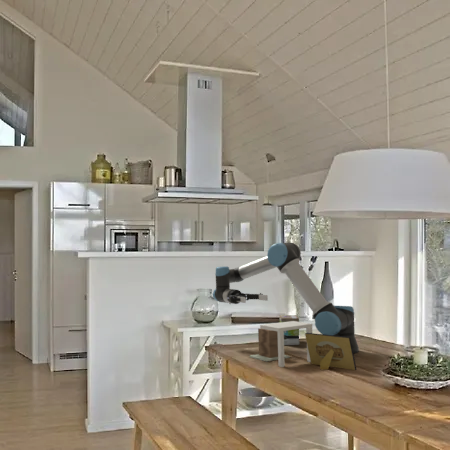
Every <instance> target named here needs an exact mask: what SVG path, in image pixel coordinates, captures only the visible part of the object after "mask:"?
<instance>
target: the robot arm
mask: <svg viewBox="0 0 450 450" xmlns="http://www.w3.org/2000/svg"><path fill="white" fill-rule="evenodd" d="M301 255H302V253H301V249H300V247H299V245H297V244H296V243H293V242H277V243H274V244H272V245H270V247H269V248H268V250H267V255H266V256H263V257H262V258H258V259H255V260H254V261H250V262H247V263H245V264H243V265H240V266H238V267H235V268H232V269H230V267H229V266H217V267H216V268H215V273H214V274H215V289H213V292H212V298H213V299H214V300H215V301H216V302H219V303H227V304H229V305H231V304H232V305H233V304H234V305H237V304H240V303H245V304H246V301H249V300H258V301H259V300H260V301H269V300H268V295H267V294H263V293H262V292H259V293H243V292H242V291H241V290H239V289H236V288H235V289H234V288H231V287H230V285H231V284H232V283H240V282H243V281H244V280H245V279H249V278H251V277H254V276H257V275H259V274H262V273H264V272H265V273H266V272H267V271H269V270H273V269H275V268H277V269H278V270H279V272H280V274H285V275H286V277H287V278H288V279H289V281H290V282H291V283H292V285H293V286H294V288H295V289H296V290H297V292H298V293H299V294H300V296H301V297H302V299H303V300H304V302H305V303H306V304H307V306H308V307H309V309H310V310H311V311H312V318H313V320H314V325H315V328H316V331H318V332H319V334H324V335H334V336H344V337H350V339H351V344H352V349H353V354H357V353H359V350H360V349H359V343H358V342H357V341H358V340H357V338H356V334H355V309H354V307H353V306H351V305H350V306H349V305H334V304H333V303H332V302H330V301H327V300H326V298H325V297H324V296H323V293H321V292H320V290H319V288H318V287H317V286H316V285H315V283H314V282H313V281H312V279H311V278H310V276H309V275H308V274H307V272H306V271H305V270H304V269H303V267H302V266H301V264H300V260H301V259H300V258H301Z"/></svg>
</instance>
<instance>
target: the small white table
mask: <svg viewBox="0 0 450 450" xmlns="http://www.w3.org/2000/svg"><path fill="white" fill-rule="evenodd" d="M259 327H260V328H262V329H267V330H273V331H277V334H278V365H277V366H278V367H279V368H284V367H285V359H286V358H285V359H284V355H285V345H284V331H287V330H294V329H299V330H302V329H306V330H305V331H306V332H305V333H313V323H309V322H302V321H299V322H297V321H289V322H281V323H280V322H274V323H267V324H260V325H259ZM260 328H259V329H260ZM306 359H307V360H306V361H307V362H308V363H311V360H310V355H309V350H308V346H307V345H306Z"/></svg>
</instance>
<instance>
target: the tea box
mask: <svg viewBox="0 0 450 450" xmlns="http://www.w3.org/2000/svg"><path fill="white" fill-rule="evenodd" d="M289 321H297V322H300V318H299V317H298V316H297V315H296V314H292V315H291V314H283V315H282V314H281V315H279V321H278V323H281V322H289ZM299 345H300V329H294V330H287V331H284V346H299Z"/></svg>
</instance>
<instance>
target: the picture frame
mask: <svg viewBox="0 0 450 450" xmlns="http://www.w3.org/2000/svg"><path fill="white" fill-rule="evenodd" d="M304 335H305V341H306V347H307V346H308V350H309V355H310V360H311V362H310V364H311V365H318V366H320V367H319V369H320V370H321V371H322V370H323V371H324V370H329V369H330V368H329V367H331V368H332V367H333V368H336V369H337V368H339V369H344V370H345V369H346V370H351V371H352V370H353V371H356V370H357V365H356V360H355V353H353V349H352V344H351V339H350V337H344V336H334V335H324V334H322V333H313V332H312V333H306V332H305V333H304Z"/></svg>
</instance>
